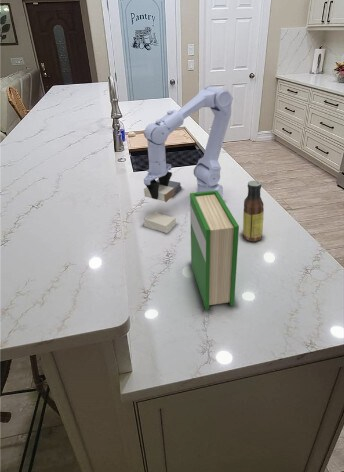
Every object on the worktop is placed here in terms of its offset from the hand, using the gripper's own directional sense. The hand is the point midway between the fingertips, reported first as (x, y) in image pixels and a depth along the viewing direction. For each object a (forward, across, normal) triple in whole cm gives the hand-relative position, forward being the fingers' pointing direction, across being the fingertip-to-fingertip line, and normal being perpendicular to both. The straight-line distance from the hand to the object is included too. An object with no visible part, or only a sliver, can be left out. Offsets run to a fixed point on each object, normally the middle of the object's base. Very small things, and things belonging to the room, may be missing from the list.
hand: (159, 194), depth 117 cm
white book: (0, 0, 0) cm, 0 cm away
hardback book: (+10, +22, +31) cm, 39 cm away
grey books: (+10, -19, -10) cm, 24 cm away
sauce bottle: (+10, -4, +33) cm, 35 cm away
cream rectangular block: (+10, +4, +2) cm, 11 cm away
